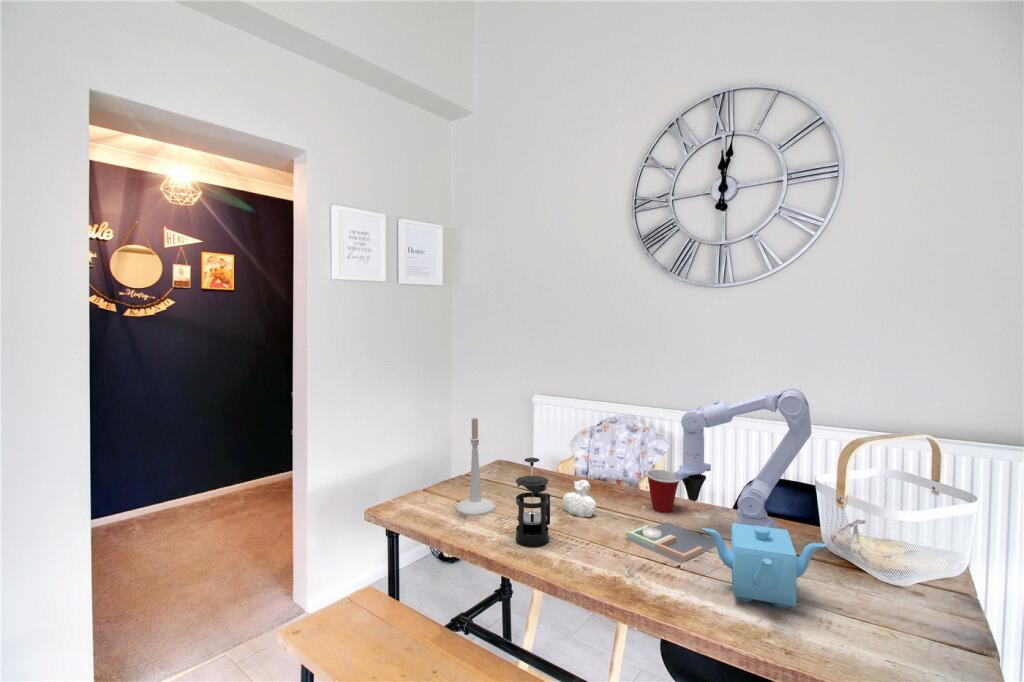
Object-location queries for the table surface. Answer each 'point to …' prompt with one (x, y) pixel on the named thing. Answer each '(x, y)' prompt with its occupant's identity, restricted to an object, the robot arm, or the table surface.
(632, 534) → the mint green c bracket
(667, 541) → the pink u-shaped rail
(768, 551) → the teakettle
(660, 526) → the mat
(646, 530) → the white dome
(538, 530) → the french press
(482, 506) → the candlestick
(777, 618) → the table surface
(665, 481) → the plastic cup
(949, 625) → the table surface
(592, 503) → the white sheep figurine
